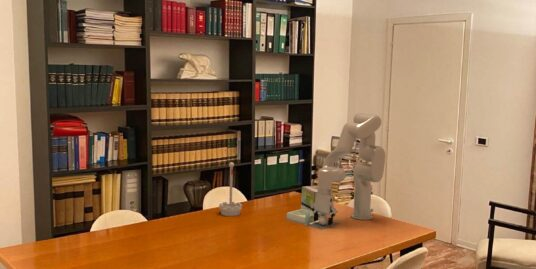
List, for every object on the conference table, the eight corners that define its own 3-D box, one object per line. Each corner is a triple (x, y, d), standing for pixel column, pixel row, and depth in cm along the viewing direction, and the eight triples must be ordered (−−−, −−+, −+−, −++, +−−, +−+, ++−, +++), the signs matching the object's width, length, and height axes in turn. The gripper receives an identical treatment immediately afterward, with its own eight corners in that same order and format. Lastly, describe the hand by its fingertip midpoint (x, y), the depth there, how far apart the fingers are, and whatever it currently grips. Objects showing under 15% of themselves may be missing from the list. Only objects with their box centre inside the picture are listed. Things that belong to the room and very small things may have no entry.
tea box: (300, 210, 311) (301, 186, 310) (314, 209, 316) (316, 185, 314) (312, 216, 298) (314, 191, 296) (327, 215, 302) (329, 190, 301)
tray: (301, 214, 302) (302, 208, 302) (320, 219, 293) (320, 213, 293) (286, 218, 292) (286, 212, 292) (305, 223, 283) (305, 217, 283)
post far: (322, 219, 294) (323, 205, 293) (326, 220, 292) (326, 206, 291) (320, 220, 292) (320, 206, 291) (323, 221, 290) (324, 207, 289)
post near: (307, 224, 284) (307, 209, 283) (310, 225, 282) (311, 210, 281) (304, 225, 282) (304, 210, 281) (307, 226, 280) (308, 211, 279)
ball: (322, 223, 286) (322, 214, 285) (329, 225, 282) (329, 216, 282) (316, 224, 282) (316, 215, 281) (323, 226, 279) (324, 217, 278)
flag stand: (217, 211, 306) (217, 160, 302) (238, 210, 310) (239, 160, 306) (221, 217, 293) (222, 164, 290) (244, 215, 297) (245, 163, 294)
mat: (302, 214, 304) (302, 213, 304) (340, 224, 286) (340, 223, 286) (283, 219, 292) (283, 218, 292) (321, 230, 273) (321, 229, 273)
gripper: (341, 193, 277) (340, 224, 279) (315, 187, 289) (314, 218, 291) (333, 195, 271) (331, 227, 273) (307, 189, 283) (306, 220, 285)
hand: (323, 222), depth 282 cm, fingers open, 9 cm apart
